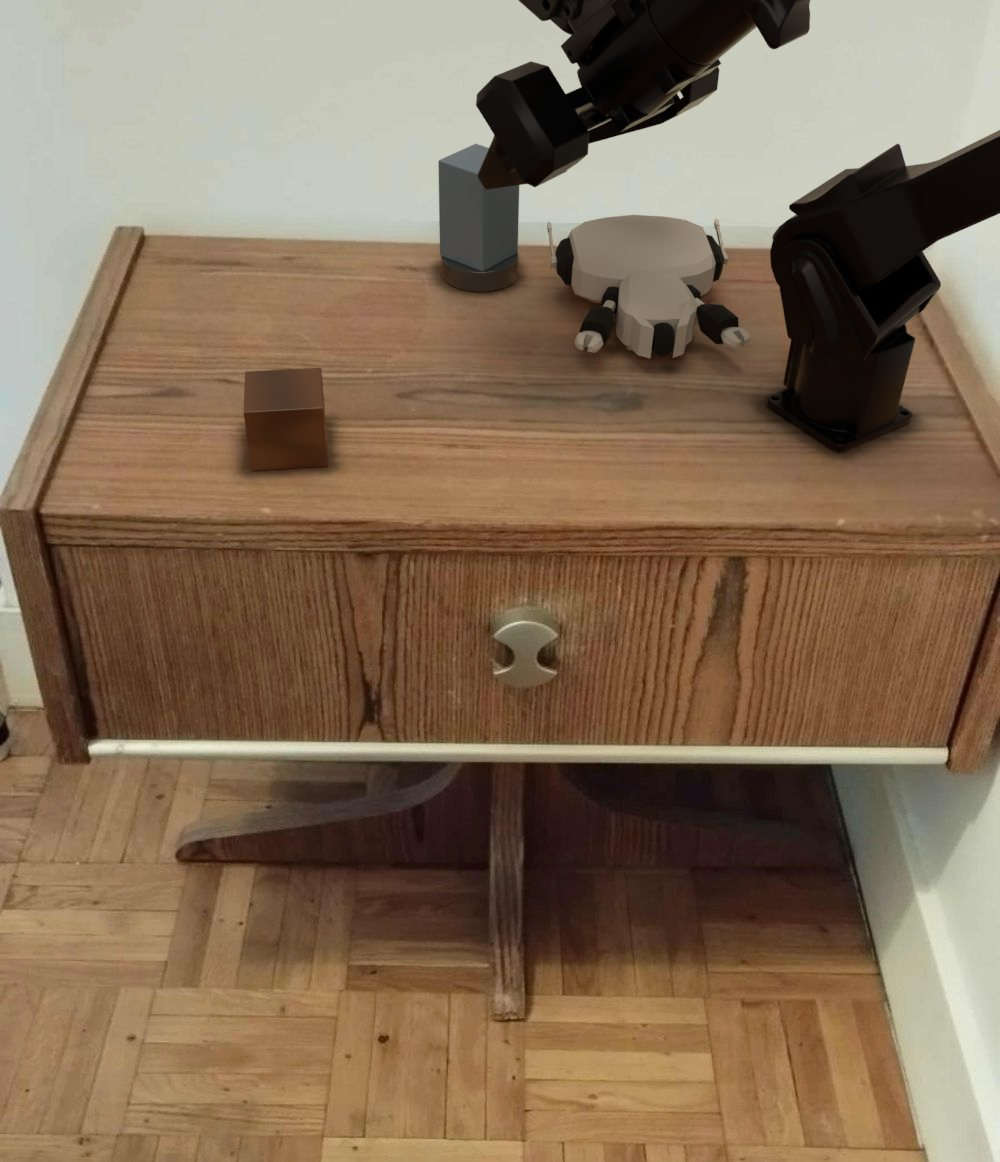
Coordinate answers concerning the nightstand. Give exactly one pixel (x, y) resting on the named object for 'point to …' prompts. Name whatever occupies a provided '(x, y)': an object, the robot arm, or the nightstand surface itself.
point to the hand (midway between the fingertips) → (527, 160)
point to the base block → (285, 419)
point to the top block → (475, 213)
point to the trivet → (480, 275)
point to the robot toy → (646, 283)
